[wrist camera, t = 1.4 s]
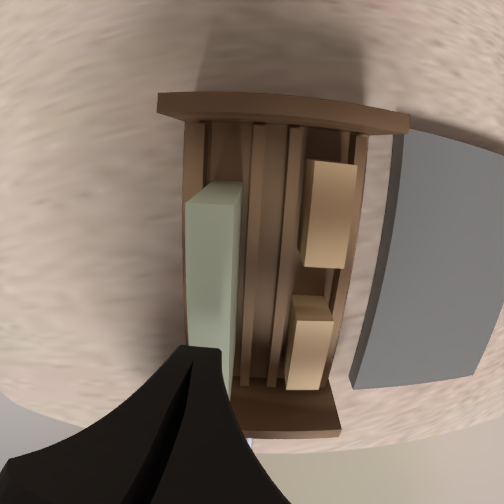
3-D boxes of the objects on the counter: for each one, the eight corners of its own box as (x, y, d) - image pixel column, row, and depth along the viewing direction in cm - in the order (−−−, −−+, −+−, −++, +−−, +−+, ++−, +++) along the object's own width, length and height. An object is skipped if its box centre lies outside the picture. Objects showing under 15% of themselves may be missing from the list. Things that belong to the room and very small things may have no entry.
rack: (323, 377, 22) (338, 437, 17) (191, 371, 22) (175, 431, 16) (363, 122, 16) (409, 115, 11) (189, 109, 16) (158, 93, 11)
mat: (465, 365, 22) (472, 375, 21) (348, 376, 22) (353, 389, 21) (520, 164, 16) (532, 166, 15) (394, 128, 16) (404, 127, 15)
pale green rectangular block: (236, 339, 20) (227, 420, 13) (211, 338, 20) (194, 417, 13) (243, 181, 17) (234, 205, 10) (213, 180, 17) (185, 202, 10)
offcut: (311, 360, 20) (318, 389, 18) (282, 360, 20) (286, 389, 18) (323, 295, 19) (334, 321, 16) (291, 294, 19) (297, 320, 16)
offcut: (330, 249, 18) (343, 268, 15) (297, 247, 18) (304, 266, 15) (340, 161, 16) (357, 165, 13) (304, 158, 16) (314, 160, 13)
